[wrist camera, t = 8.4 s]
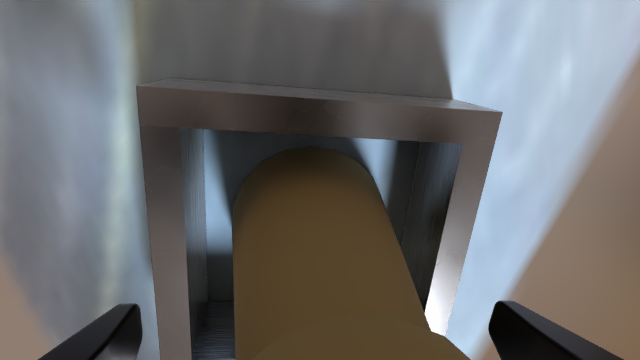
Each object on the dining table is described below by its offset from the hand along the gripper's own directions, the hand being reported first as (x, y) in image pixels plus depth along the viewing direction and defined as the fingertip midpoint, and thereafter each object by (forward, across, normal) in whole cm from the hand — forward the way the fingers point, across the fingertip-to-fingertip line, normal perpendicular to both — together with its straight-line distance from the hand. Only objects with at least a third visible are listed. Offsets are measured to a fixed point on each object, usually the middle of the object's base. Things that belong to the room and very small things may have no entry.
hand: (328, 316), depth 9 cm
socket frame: (+6, 0, 0) cm, 6 cm away
